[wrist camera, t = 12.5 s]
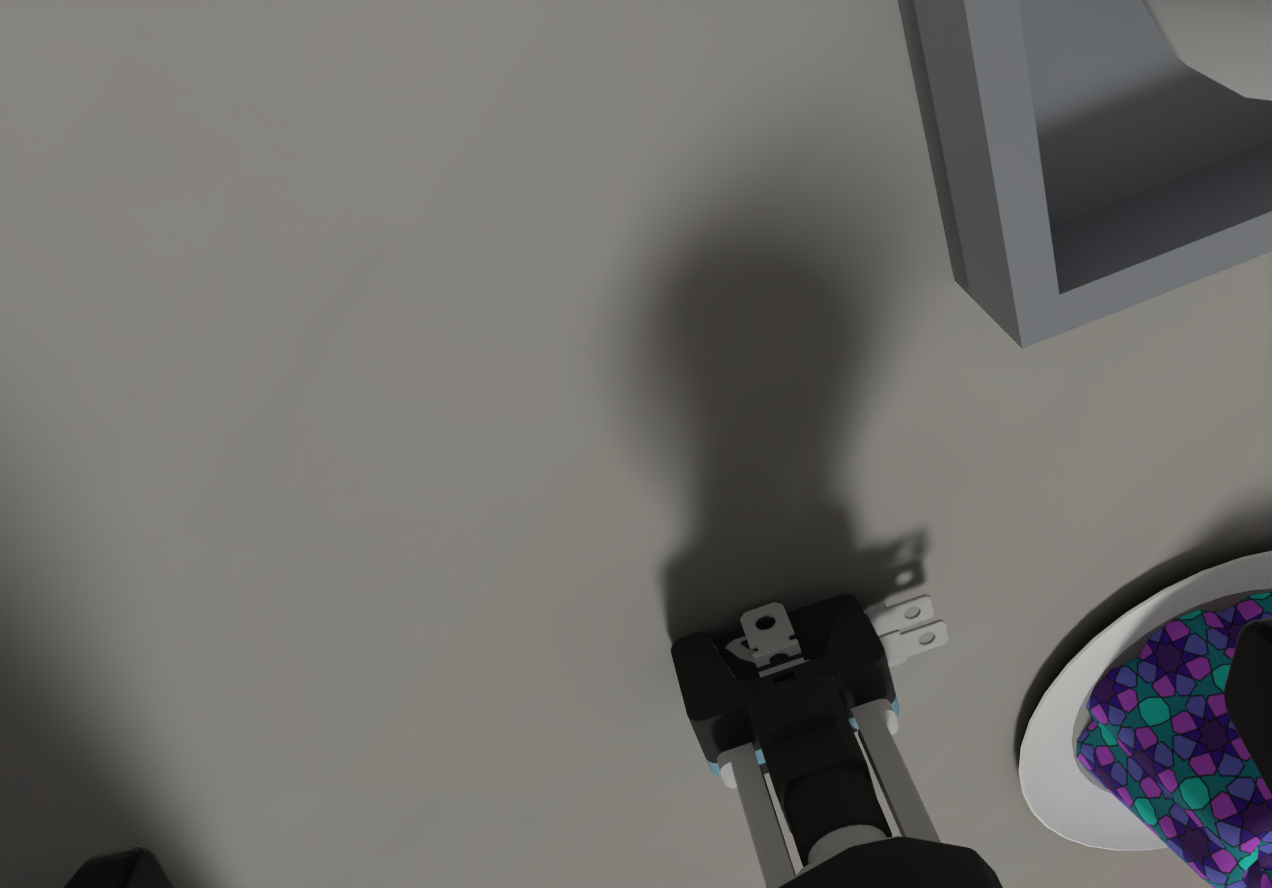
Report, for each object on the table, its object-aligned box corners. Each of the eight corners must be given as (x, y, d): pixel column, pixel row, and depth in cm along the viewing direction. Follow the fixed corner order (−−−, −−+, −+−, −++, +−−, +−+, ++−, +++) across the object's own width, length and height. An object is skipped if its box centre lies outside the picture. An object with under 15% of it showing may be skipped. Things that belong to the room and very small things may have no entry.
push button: (906, 512, 25) (1142, 891, 16) (937, 663, 28) (1151, 1049, 19) (637, 605, 25) (737, 1024, 17) (697, 744, 28) (806, 1159, 20)
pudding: (1011, 870, 34) (1095, 1033, 30) (999, 602, 27) (1106, 760, 23) (1370, 768, 34) (1506, 915, 30) (1446, 476, 27) (1637, 611, 23)
